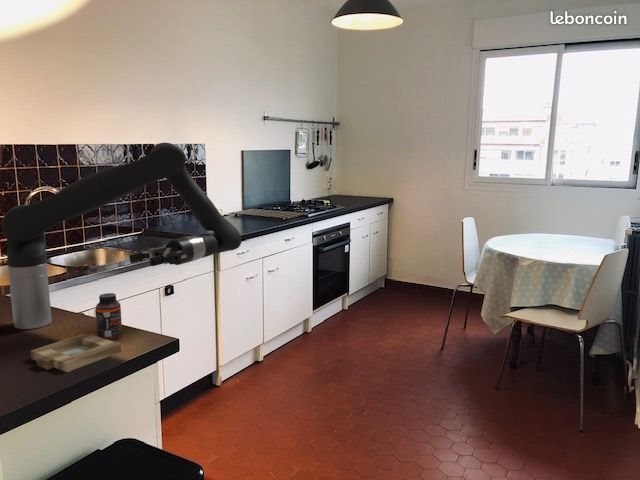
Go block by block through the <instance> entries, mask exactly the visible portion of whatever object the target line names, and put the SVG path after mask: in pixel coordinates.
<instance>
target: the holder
mask: <svg viewBox="0 0 640 480" xmlns="http://www.w3.org/2000/svg"><path fill="white" fill-rule="evenodd" d="M121 344H122V343H119V342H116V341H114V340H107V339H103V338H100V337H98V335H97V336H95V335H93V334H90V333H86V332H84V333H82V334H78V335H76V336H75V335H74V336H72V337H69V338H66V339H63V340H60V341H57V342H54V343H51V344H48V345H44V346H42V347H38V348H35V349H32V350H30V357H31V358H30V359H31V360H33V361H36V366H37V367H39V368H42V369H45V370H47V371H48V370H51V369H53V368H55V369H57V370H59V371H62V372H64V373H65V372H66V373H69V372H71V371H74V370H77V369H80V368H82V367H84V366H87V365H90V364H93V363H95V362H98V361H101V360H103V359H106V358H108V357H110V356H113V355H116V354H118V353H121V352H122V345H121Z"/></svg>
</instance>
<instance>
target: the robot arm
mask: <svg viewBox="0 0 640 480" xmlns="http://www.w3.org/2000/svg"><path fill="white" fill-rule="evenodd" d="M186 163H187V157H186V154H185V152H184V150H183V149H182V148H180V147H179V146H178V145H175V144H173V143H170V142H160V143H157V144H155V145H154V146H153V147H152V149H151V151H150V153H148V154H146V155H144V156H143V157H140V158H139V159H136V160H134V161H132V162H128V163H122V164H120V165H116V166H111V167H108V168H105V169H102V170H99V171H96V172H94V173H91V174H89V175H86V176H85V177H82V178H80V179H78V180H76V181H74V182H73V183H70V184H69V185H67V186H65V187H64V188H62V189H61V190H60V191H58V192H56V193H55V194H52V195H51V196H49V197H46V198H44V199H41V200H38V201H34V202H31V203H29V204H19V205H15V206H13V207H11V208H10V209H9V210H8V211H7V212H6V213H5V214H4V215H3V218H2V221H1V229H2V232H3V233H4V235H5V236H6V243H7V245H6V246H7V252H6V253H7V254H6V259H7V269H8V279H9V286H10V287H9V288H10V303H11V310H12V321H13V325H14V326H13V327H14V328H15V329H17V330H31V329H38V328H42V327H45V326H48V325H50V324H51V323H52V322H53V318H52V309H51V308H52V307H51V298H50V297H51V296H50V286H49V276H48V266H47V252H46V251H47V249H46V246H47V245H46V236H45V232H46V231H47V230H49V229H52V228H53V227H55V226H57V225H59V224H61V223H63V222H65V221H67V220H69V219H74V218H76V217H79V216H81V215H85V214H87V213H90V212H93V211H95V210H97V209H100V208H103V207H104V206H106V205H109V204H111V203H113V202H115V201H117V200H120V199H121V198H123V197H126V196H127V195H129V194H131V193H133V192H136V191H137V190H139V189H140V188H142V187H144V186H147V185H149V184H151V183H155V182H157V181H160V180H164V179H166V181H167V182H169V184H170V185H172V187H173V188H174V189H175V191H176V192H177V193H178V195H179V196H180V198H181V199H182V200H183V202H184V203H185V204H186V206H187V207H188V209H189V211H190V212H191V214H192V215H193V217H194V218H195V220H197V222H198V224H199V225H200V226H201V227H202V228H203V230H205V231H207V232H209V233H203V234H202V233H201V234H197V235H188V236H183V237H179V238H174V239H170V240H169V241H168V242H167V244H166V246H159V247H155V246H154V247H150V248H145V249H144V248H143V249H139V250H138V251H137V252H136V253H132V254H129V262H130V263H133V264H134V263H137V262H141V261H143V262H144V261H149V266H151V267H155V266H160V265H167V264H169V265H175V266H180V265H183V264H188V263H190V262H194V261H197V260H198V261H199V260H200V259H203V258H208V257H209V256H212V255H214V254H219V253H220V254H221V253H225V252H229V251H235V250H237V249H238V248H240V246H241V244H242V235H241V233H240V231H239V229H237V228H236V227H235V226H234V225H233V224H232V222H230V221H228V219H226V217H224V216H223V215H222V214H221V213H220V211H219V210H218V209H217V207H216V205H215V204H214V203H213V202H212V200H211V199H210V198H209V197H208V196H209V195H207V194H206V193H205V192H204V190H203V189H202V188H201V187H200V186H199V184H197V182H196V181H195V180H194V179H193V177H192V175H191V174H190V172H189V171H188V168H187V167H186Z"/></svg>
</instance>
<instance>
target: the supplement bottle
mask: <svg viewBox="0 0 640 480" xmlns="http://www.w3.org/2000/svg"><path fill="white" fill-rule="evenodd" d="M98 299H99V300H98V301H99V302H98V303H97V304H96V305H95V317H96V332H97V337H100V338H103V339H107V340H110V341H114V340H117V339H119V338H120V337H121V336H122V335H123V327H122V326H123V324H122V310H121V309H122V308H121V306H122V305H121V303H120V302H119V301H118V300H117V295H116V293H113V292H109V293H107V292H106V293H102V294H100V295H99V296H98Z"/></svg>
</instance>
